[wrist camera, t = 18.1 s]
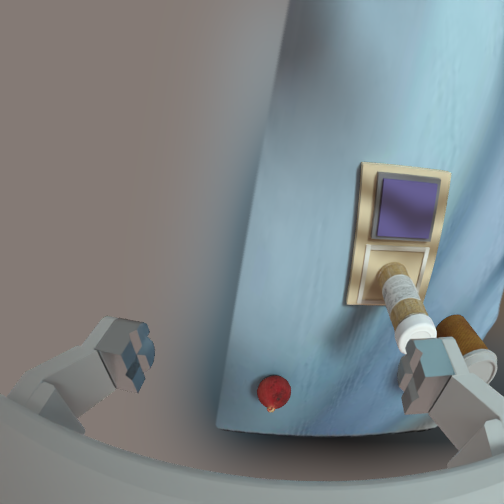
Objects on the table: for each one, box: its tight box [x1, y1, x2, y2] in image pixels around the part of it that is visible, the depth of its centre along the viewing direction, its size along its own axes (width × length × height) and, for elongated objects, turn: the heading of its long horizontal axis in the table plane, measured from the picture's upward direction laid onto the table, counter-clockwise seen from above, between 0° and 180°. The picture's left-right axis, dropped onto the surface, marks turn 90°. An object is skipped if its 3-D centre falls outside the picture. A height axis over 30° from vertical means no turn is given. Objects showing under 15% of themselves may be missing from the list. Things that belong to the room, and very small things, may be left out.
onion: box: [257, 375, 291, 412], centre depth 50 cm, size 6×6×8 cm
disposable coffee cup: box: [436, 315, 497, 384], centre depth 39 cm, size 10×10×12 cm
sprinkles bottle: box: [377, 262, 437, 354], centre depth 34 cm, size 5×5×14 cm
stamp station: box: [346, 162, 451, 305], centre depth 38 cm, size 20×12×2 cm, turn 2°
